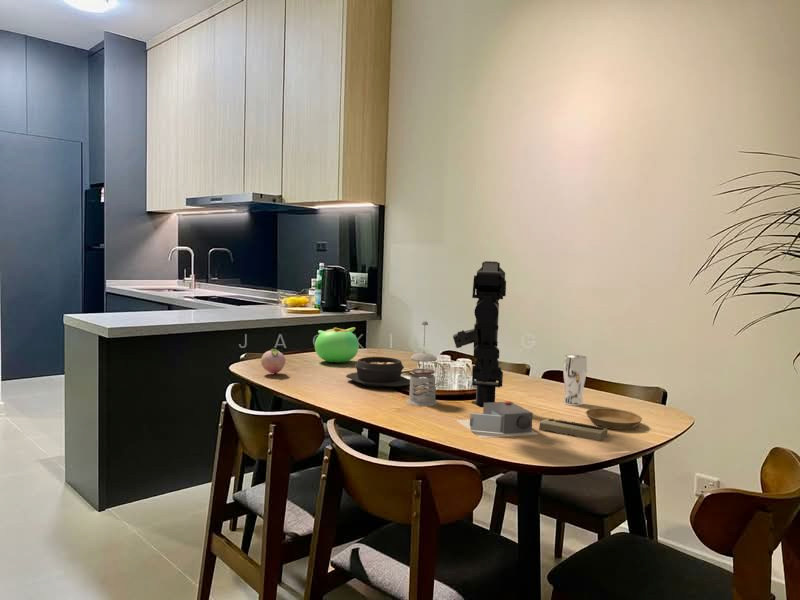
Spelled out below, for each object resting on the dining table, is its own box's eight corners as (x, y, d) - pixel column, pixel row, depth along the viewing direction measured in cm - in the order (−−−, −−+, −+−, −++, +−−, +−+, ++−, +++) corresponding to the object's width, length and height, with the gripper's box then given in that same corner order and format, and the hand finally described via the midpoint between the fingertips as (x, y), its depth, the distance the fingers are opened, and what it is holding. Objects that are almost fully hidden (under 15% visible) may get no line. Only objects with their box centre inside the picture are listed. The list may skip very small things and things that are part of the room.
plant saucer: (650, 425, 164) (651, 416, 164) (626, 435, 154) (626, 425, 154) (601, 414, 175) (601, 405, 175) (575, 422, 165) (575, 413, 165)
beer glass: (578, 407, 181) (581, 359, 180) (557, 403, 186) (560, 355, 185) (588, 404, 186) (591, 356, 185) (568, 399, 191) (570, 353, 190)
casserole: (333, 382, 205) (334, 358, 204) (368, 375, 220) (369, 352, 219) (390, 394, 190) (391, 368, 189) (423, 385, 205) (424, 361, 204)
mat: (456, 421, 161) (456, 420, 161) (508, 418, 166) (508, 417, 166) (481, 439, 146) (481, 437, 145) (539, 435, 150) (539, 434, 150)
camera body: (482, 420, 161) (483, 400, 160) (509, 419, 163) (510, 399, 163) (505, 435, 148) (506, 413, 148) (534, 433, 151) (535, 411, 150)
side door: (469, 430, 150) (470, 414, 150) (470, 429, 151) (470, 412, 151) (502, 433, 148) (503, 417, 148) (503, 432, 150) (503, 415, 149)
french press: (402, 398, 185) (405, 319, 183) (438, 398, 187) (441, 319, 185) (409, 406, 175) (412, 322, 173) (447, 405, 178) (450, 323, 176)
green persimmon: (313, 365, 235) (314, 328, 233) (315, 358, 251) (316, 323, 250) (358, 366, 236) (359, 329, 235) (358, 359, 253) (359, 324, 252)
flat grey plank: (607, 436, 153) (608, 424, 153) (600, 444, 146) (601, 431, 146) (547, 426, 161) (548, 414, 161) (538, 433, 154) (539, 421, 154)
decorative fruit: (258, 372, 217) (259, 345, 216) (280, 371, 220) (281, 345, 219) (264, 377, 208) (264, 349, 208) (287, 376, 212) (287, 349, 211)
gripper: (456, 315, 162) (454, 371, 163) (454, 322, 144) (451, 386, 145) (497, 317, 161) (495, 374, 162) (500, 324, 142) (497, 388, 143)
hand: (484, 380), depth 153 cm, fingers open, 4 cm apart
